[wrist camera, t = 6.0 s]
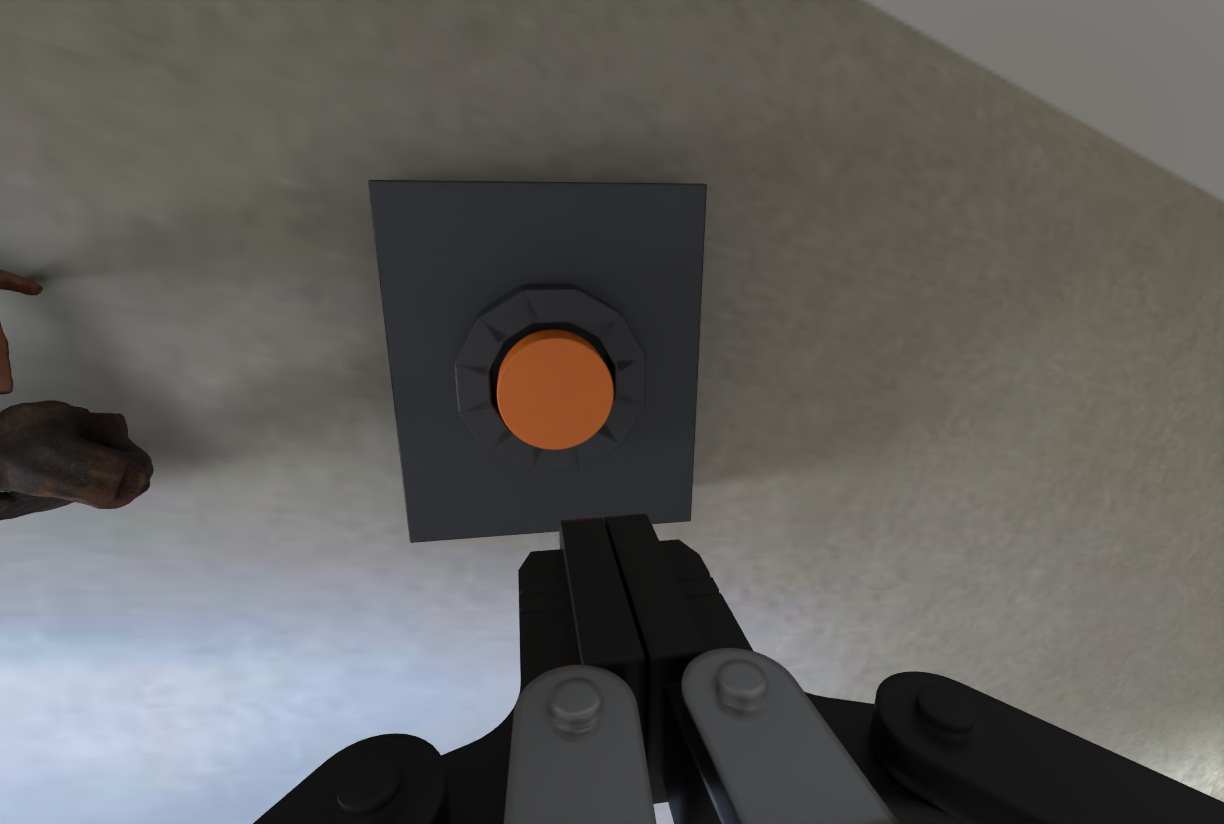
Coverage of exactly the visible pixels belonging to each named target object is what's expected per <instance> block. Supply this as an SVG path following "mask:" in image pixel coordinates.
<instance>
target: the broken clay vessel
mask: <svg viewBox="0 0 1224 824" xmlns="http://www.w3.org/2000/svg"><path fill="white" fill-rule="evenodd" d="M0 289H3V290H10V291H15V292H20V293H23V294H26V295H38V294H39V293H41V291H42V290H43V288H42V287H41V286H40V285H38V284H36V283H35V282H33V281H30V280H28V279H25V278H23V277H20V276H18V275H14V274H11V273H8V272H6V271H3V270H0ZM12 391H13V379H12V376H11V367H10V361H9V349H8V341H7V339H6V337H5V335H4V333H3V329H2V327H1V323H0V394H8V393H11V392H12ZM152 474H153V465H152V461H151V458H150V456H149V455H148V454H147V453H146V452H145V451H143V450H142V449H141V448H140V447H138V446H137V445H135V444H134V443H133V442H132V441H131V440H130V439H129V438H128V428H127V424H126V421H125V418H124V416H123V415H122V414H113V413H90V412H89V410H88V409H85V408H81V407H73V406H70V405H69V404H67V403H64V402H60V401H42V402H36V403H21V404H18V405H13V406H10V407H8V408H7V409H5V410H3V411H1V412H0V490H7V491H12V492H9V493H8V492H0V520H4V519H12V518H16V517H19V516H23V515H26V514H31V513H34V512H42V511H47V510H52V509H55V508H58V507H62V506H65V505H68V504H70V503H73V502H78V503H82V504H86V505H90V506H93V507H95V508H98V509H116V508H120V507H123V506H125V505H127V504H129V503H130V502H131V501H133V500H134V499H135V498H136V497H138V496H139V495H141V494H142V493H144V492H145V491H147V490H148V488H149V487H150V478H151V476H152Z"/></svg>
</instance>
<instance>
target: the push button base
mask: <svg viewBox="0 0 1224 824" xmlns="http://www.w3.org/2000/svg"><path fill="white" fill-rule="evenodd" d="M368 183H369V192H370V201H371V209H372V218H373V227H374V235H375V244H376V252H377V261H378V270H379V278H380V287H381V296H382V304H383V313H384V322H385V330H386V339H387V348H388V356H389V365H390V373H391V382H392V391H393V399H394V408H395V417H396V425H397V434H398V443H399V451H400V460H401V469H402V477H403V486H404V494H405V503H406V512H407V520H408V529H409V538H410V542H411V543H413V542H426V541H439V540H452V539H465V538H478V537H491V536H504V535H517V534H530V533H543V532H556V531H560V529H559V528H560V520H570V519H583V518H596V517H602V519H603V520H604V517H608V516H621V515H635V514H647V516H648V518H649V520H650V522H651V524H660V523H673V522H686V521H691V504H692V483H693V463H694V442H695V421H696V400H697V379H698V358H699V337H700V316H701V295H702V274H703V254H704V233H705V212H706V191H707V185H706V184H671V183H585V182H500V181H414V180H369V182H368ZM546 329H560V330H566V331H569V332H573V333H575V334H577V335H579V336H581V337H582V338H584V339H586V340H587V341H588V342H589V343H590V344H591V345H592V346H593V347H594V348H595V349H596V350H597V352H598V353H599V355H600V356H601V358H602V359H603V361H604V362H605V364H606V366H607V368H608V370H609V371H610V374H611V377H612V381H613V388H614V397H613V404H612V408H611V411H610V414H609V416H608V418H607V420H606V421H605V423H604V424H603V426H602V427H601V428H600V429H599V431H598V432H597V433H596V434H594V435H593V436H592V437H591V438H589V439H588V440H586V441H585V442H583V443H581V444H579V445H576V446H573V447H570V448H566V449H558V450H550V449H543V448H539V447H535V446H533V445H530V444H528V443H526V442H524V441H523V440H521V439H520V438H518V437H517V436H516V435H515V434H514V433H513V432H512V431H511V430H510V429H509V428H508V426H507V425H506V424H505V422H504V420H503V418H502V416H501V414H500V411H499V407H498V402H497V384H498V375H499V370H500V366H501V363H502V361H503V359H504V357H505V355H506V354H507V352H508V351H509V350H510V349H511V347H512V346H513V345H514V344H515V343H516V342H518V341H519V340H520V339H522V338H523V337H525V336H527V335H529V334H531V333H534V332H536V331H540V330H546Z"/></svg>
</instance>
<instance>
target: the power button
mask: <svg viewBox="0 0 1224 824" xmlns="http://www.w3.org/2000/svg"><path fill="white" fill-rule="evenodd" d="M613 397H614V388H613V381H612V377H611V374H610V371H609V370H608V368H607V366H606V364H605V362H604V361H603V359H602V358H601V356H600V355H599V353H598V352H597V350H596V349H595V348H594V347H593V346H592V345H591V344H590V343H589V342H588V341H587V340H586V339H584V338H582V337H581V336H579V335H577V334H575V333H573V332H569V331H566V330H560V329H546V330H540V331H536V332H534V333H531V334H529V335H527V336H525V337H523V338H522V339H520V340H519V341H518V342H516V343H515V344H514V345H513V346H512V347H511V349H510V350H509V351H508V352H507V354H506V355H505V357H504V359H503V361H502V363H501V366H500V370H499V375H498V384H497V402H498V407H499V411H500V414H501V416H502V418H503V420H504V422H505V424H506V425H507V426H508V428H509V429H510V430H511V431H512V432H513V433H514V434H515V435H516V436H517V437H518V438H520V439H521V440H523V441H524V442H526V443H528V444H530V445H533V446H535V447H539V448H543V449H550V450H558V449H566V448H570V447H573V446H576V445H579V444H581V443H583V442H585V441H586V440H588V439H589V438H591V437H592V436H593V435H594V434H596V433H597V432H598V431H599V429H600V428H601V427H602V426H603V424H604V423H605V421H606V420H607V418H608V416H609V414H610V411H611V408H612V404H613Z"/></svg>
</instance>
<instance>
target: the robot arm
mask: <svg viewBox="0 0 1224 824" xmlns="http://www.w3.org/2000/svg"><path fill="white" fill-rule="evenodd" d="M559 529H560V549H559V550H546V551H534V552H530V554H529V555H528V557H527V558H526V560H525V561H524V563H523V564H522V566H521V567H520V569H519V570H518V571H519V619H520V668H521V687H520V693H519V697H518V700H517V702H516V704H515V706H514V708H513V710H512V711H511V712H510V714H509V715H508V717H507V718H506V719H505V720H504V721H503V722H502V723H501V724H500V725H499V726H498V727H496V728H495V729H494V730H493V731H491V732H490V733H488V734H487V735H485V736H484V737H482V738H481V739H478V740H476V741H474V742H472V743H470V744H468V745H465V746H463V747H461V748H458V749H456V750H453V751H451V752H448V753H446V754H444V755H440V753H439V752H438V751H437V750H436V749H435V748H434V746H433V745H431V744H430V743H428V742H427V741H425V740H423V739H421V738H419V737H416V736H412V735H408V734H383V735H379V736H374V737H370V738H367V739H364V740H361V741H358V742H356V743H354V744H352V745H350V746H348V747H346V748H344V749H343V750H341V751H339V752H338V753H336V754H335V755H333V756H332V757H331V758H329V759H328V760H327V761H325V762H324V763H323V764H322V765H321V766H320V767H318V768H317V769H316V770H315V771H314V772H313V773H311V774H310V775H309V776H308V777H307V778H306V779H304V780H303V781H302V782H301V783H300V784H299V785H297V786H296V787H295V788H294V789H293V790H292V791H290V792H289V793H288V794H287V795H286V796H285V797H283V798H282V799H281V800H280V801H279V802H278V803H276V804H275V805H274V806H273V807H272V808H271V809H269V810H268V811H267V812H266V813H265V814H264V815H262V816H261V817H260V818H259V819H258V820H257V821H255V822H254V823H253V824H656V818H655V812H654V806H653V804H656V803H663V802H668V803H669V806H670V810H671V814H672V817H673V821H674V824H1224V802H1222V801H1220V800H1217V799H1215V798H1213V797H1211V796H1209V795H1206V794H1204V793H1202V792H1200V791H1198V790H1195V789H1193V788H1191V787H1189V786H1187V785H1184V784H1182V783H1180V782H1178V781H1176V780H1173V779H1171V778H1169V777H1167V776H1165V775H1162V774H1160V773H1158V772H1156V771H1154V770H1151V769H1149V768H1147V767H1145V766H1143V765H1140V764H1138V763H1136V762H1134V761H1132V760H1129V759H1127V758H1125V757H1123V756H1121V755H1118V754H1116V753H1114V752H1112V751H1110V750H1107V749H1105V748H1103V747H1101V746H1099V745H1096V744H1094V743H1092V742H1090V741H1088V740H1085V739H1083V738H1081V737H1079V736H1077V735H1074V734H1072V733H1070V732H1068V731H1066V730H1063V729H1061V728H1059V727H1057V726H1055V725H1052V724H1050V723H1048V722H1046V721H1044V720H1041V719H1039V718H1037V717H1035V716H1033V715H1030V714H1028V713H1026V712H1024V711H1022V710H1019V709H1017V708H1015V707H1013V706H1011V705H1008V704H1006V703H1004V702H1002V701H1000V700H997V699H995V698H993V697H991V696H989V695H986V694H984V693H982V692H980V691H977V690H975V689H973V688H971V687H969V686H966V685H964V684H962V683H960V682H957V681H955V680H952V679H950V678H947V677H944V676H940V675H937V674H932V673H926V672H902V673H897V674H894V675H892V676H890V677H888V678H886V679H885V680H884V681H883V682H882V683H881V684H880V685H879V687H878V689H877V692H876V698H875V704H870V703H863V702H856V701H849V700H842V699H834V698H827V697H822V696H817V695H813V694H810V693H806V692H804V691H803V690H802V688H801V687H800V685H799V684H798V683H797V681H796V680H795V679H794V677H793V676H792V675H791V674H790V673H789V671H787V670H786V669H785V668H784V667H783V666H782V665H780V664H779V663H777V662H776V661H774V660H773V659H771V658H769V657H767V656H765V655H762V654H760V653H757V652H754V651H753V650H752V648H751V646H750V644H749V642H748V641H747V639H746V637H745V635H744V633H743V632H742V630H741V628H740V626H739V625H738V623H737V621H736V619H735V617H734V616H733V614H732V612H731V610H730V608H729V607H728V605H727V603H726V601H725V600H724V598H723V596H722V594H721V593H720V594H719V589H718V587H717V585H716V583H715V582H714V580H713V578H712V577H710V573H709V571H708V569H707V567H706V566H705V564H704V562H703V560H702V558H701V557H700V555H699V554H698V553H697V552H695V551H694V550H692V549H691V548H690V547H688V546H687V545H686V544H684V543H683V542H681V541H680V540H667V541H659V539H658V537H657V535H656V533H655V531H654V529H653V526H652V524H651V522H650V520H649V518H648V516H647V514H635V515H621V516H608V517H604V520H603V519H602V517H596V518H583V519H570V520H560V528H559Z"/></svg>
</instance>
